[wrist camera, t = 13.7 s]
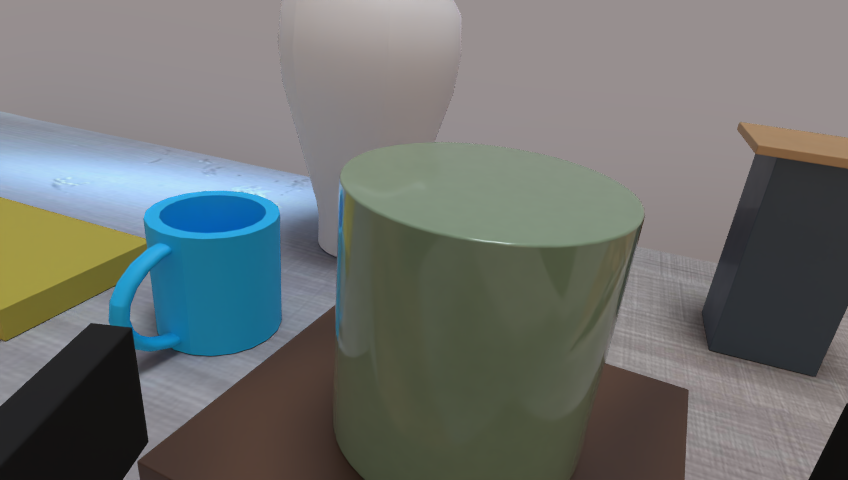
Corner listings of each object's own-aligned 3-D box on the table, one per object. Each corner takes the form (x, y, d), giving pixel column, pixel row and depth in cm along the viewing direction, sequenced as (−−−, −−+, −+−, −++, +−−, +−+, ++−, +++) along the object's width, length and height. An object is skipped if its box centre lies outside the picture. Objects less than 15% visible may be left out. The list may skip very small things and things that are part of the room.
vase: (249, 259, 48) (232, -144, 36) (323, 204, 61) (329, -106, 50) (413, 295, 45) (453, -133, 33) (455, 229, 58) (494, -96, 46)
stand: (813, 332, 46) (896, 144, 39) (844, 391, 39) (951, 174, 32) (681, 302, 48) (739, 121, 42) (688, 351, 41) (758, 144, 35)
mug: (220, 281, 45) (213, 182, 41) (305, 312, 42) (305, 209, 38) (74, 358, 35) (50, 237, 31) (172, 407, 32) (156, 278, 28)
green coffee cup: (598, 545, 15) (685, 268, 11) (296, 491, 15) (295, 215, 12) (562, 330, 24) (605, 144, 20) (376, 302, 24) (388, 117, 21)
